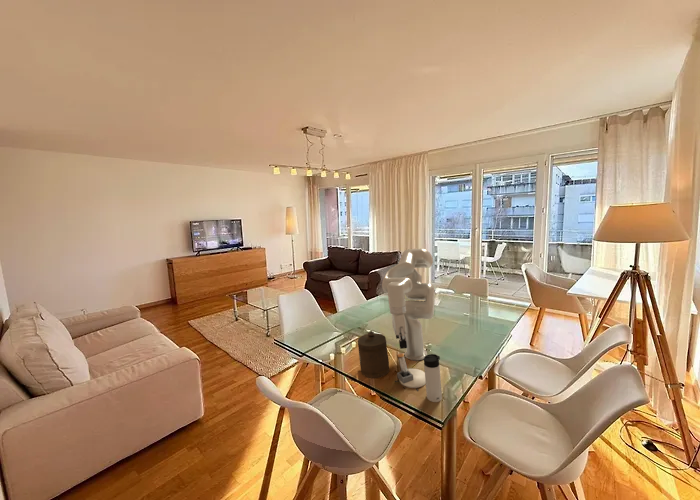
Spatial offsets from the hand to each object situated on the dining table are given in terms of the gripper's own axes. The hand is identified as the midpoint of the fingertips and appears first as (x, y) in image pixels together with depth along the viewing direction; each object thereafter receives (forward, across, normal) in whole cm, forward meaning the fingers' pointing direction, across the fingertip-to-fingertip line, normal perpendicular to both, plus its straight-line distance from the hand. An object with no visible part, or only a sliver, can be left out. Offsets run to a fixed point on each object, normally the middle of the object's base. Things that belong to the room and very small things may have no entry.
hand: (401, 342), depth 133 cm
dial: (+18, +2, +3) cm, 19 cm away
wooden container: (+20, -10, -14) cm, 26 cm away
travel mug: (+20, +16, +10) cm, 27 cm away
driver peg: (+16, +3, 0) cm, 16 cm away
